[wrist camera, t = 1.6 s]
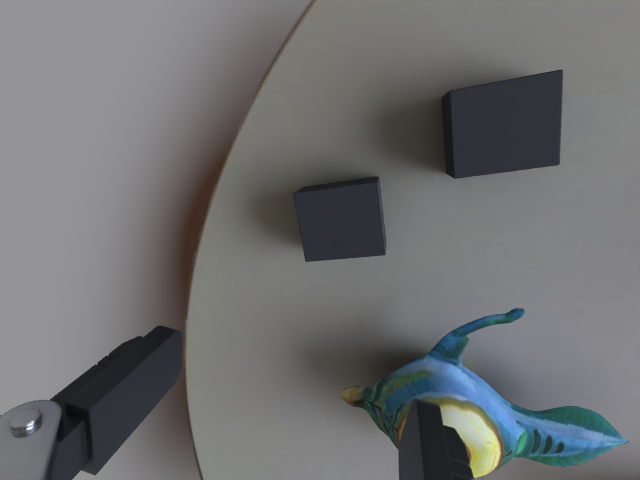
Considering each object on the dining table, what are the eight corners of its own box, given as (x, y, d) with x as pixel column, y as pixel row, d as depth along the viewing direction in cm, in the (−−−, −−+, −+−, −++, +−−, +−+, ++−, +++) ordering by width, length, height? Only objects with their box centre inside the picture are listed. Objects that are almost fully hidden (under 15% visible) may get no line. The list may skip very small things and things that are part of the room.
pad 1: (303, 187, 22) (292, 193, 20) (378, 176, 21) (377, 181, 18) (314, 248, 23) (305, 262, 21) (386, 242, 22) (385, 255, 20)
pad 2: (441, 96, 19) (449, 90, 16) (539, 78, 18) (563, 68, 15) (445, 173, 20) (453, 178, 18) (538, 161, 19) (560, 165, 16)
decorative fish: (438, 472, 27) (452, 560, 21) (343, 364, 26) (330, 428, 20) (602, 407, 22) (673, 497, 17) (496, 273, 21) (534, 322, 16)
